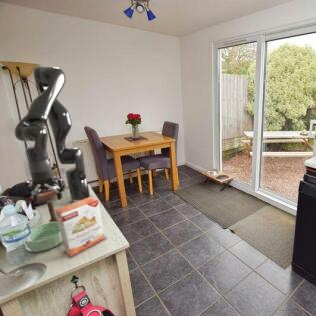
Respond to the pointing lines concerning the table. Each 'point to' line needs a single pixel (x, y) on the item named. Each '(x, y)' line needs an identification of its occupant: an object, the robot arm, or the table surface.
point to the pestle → (52, 212)
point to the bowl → (44, 237)
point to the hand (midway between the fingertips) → (49, 200)
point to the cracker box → (80, 225)
